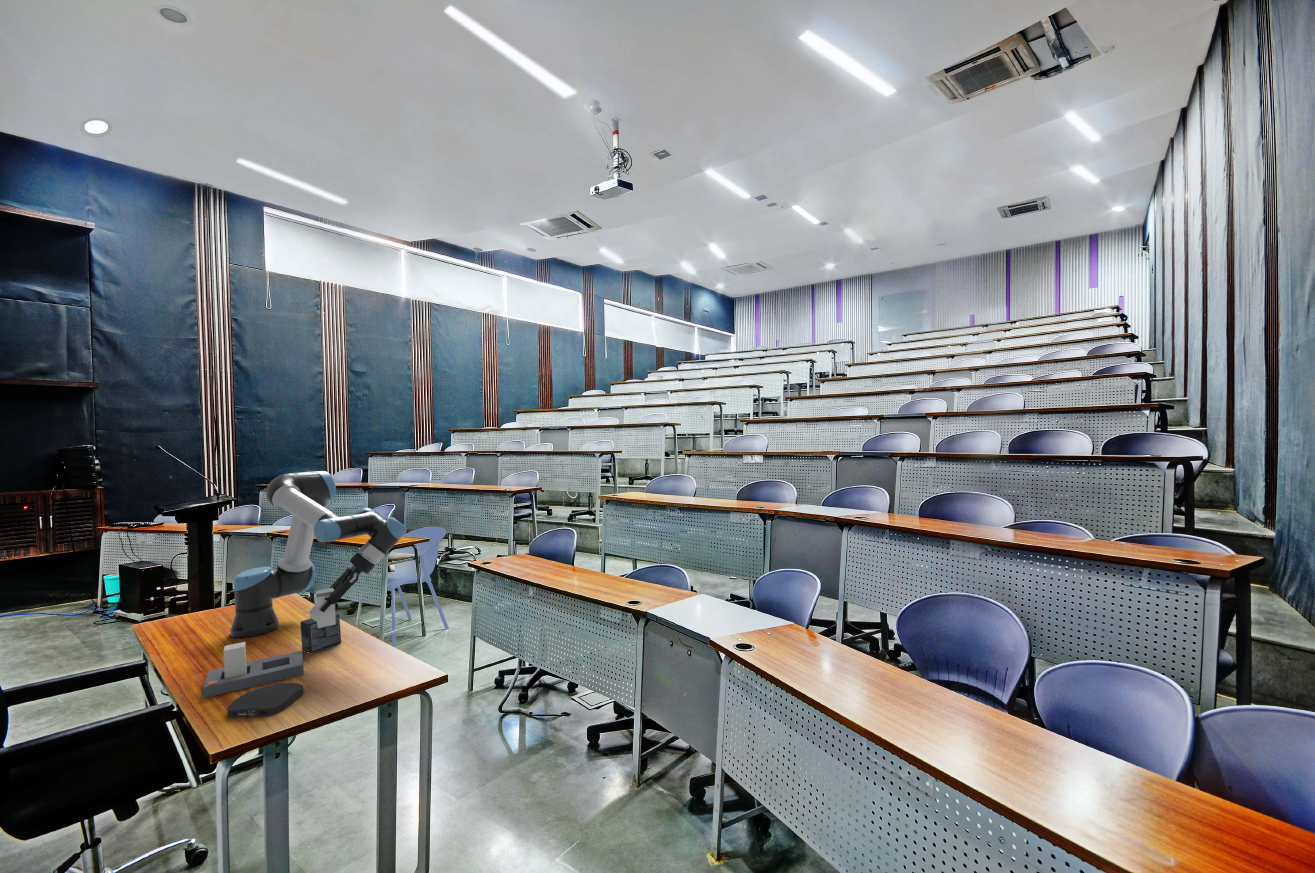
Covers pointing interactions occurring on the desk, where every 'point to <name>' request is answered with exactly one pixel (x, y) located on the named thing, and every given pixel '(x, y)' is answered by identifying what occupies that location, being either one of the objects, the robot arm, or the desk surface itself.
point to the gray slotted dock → (250, 670)
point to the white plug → (329, 615)
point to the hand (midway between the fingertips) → (312, 616)
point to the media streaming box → (265, 700)
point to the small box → (319, 635)
